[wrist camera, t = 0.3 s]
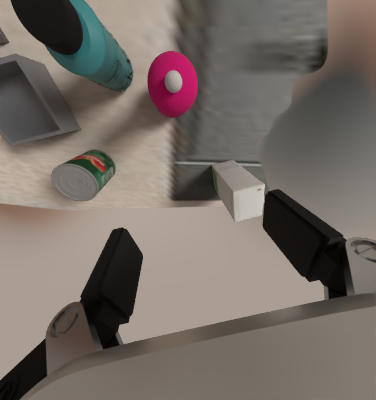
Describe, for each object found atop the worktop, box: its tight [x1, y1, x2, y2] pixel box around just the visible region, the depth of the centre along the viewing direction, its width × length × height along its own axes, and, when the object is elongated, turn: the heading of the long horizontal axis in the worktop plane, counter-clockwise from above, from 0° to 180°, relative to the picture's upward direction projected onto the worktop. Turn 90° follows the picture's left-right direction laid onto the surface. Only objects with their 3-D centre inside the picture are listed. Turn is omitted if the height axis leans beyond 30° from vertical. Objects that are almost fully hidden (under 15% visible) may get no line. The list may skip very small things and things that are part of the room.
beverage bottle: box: [11, 0, 133, 91], centre depth 19 cm, size 6×7×20 cm
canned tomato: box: [51, 150, 116, 201], centre depth 32 cm, size 8×8×11 cm
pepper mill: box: [148, 51, 198, 118], centre depth 22 cm, size 7×7×20 cm
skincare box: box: [212, 160, 265, 222], centre depth 35 cm, size 8×7×16 cm
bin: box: [0, 54, 81, 146], centre depth 27 cm, size 11×11×6 cm
